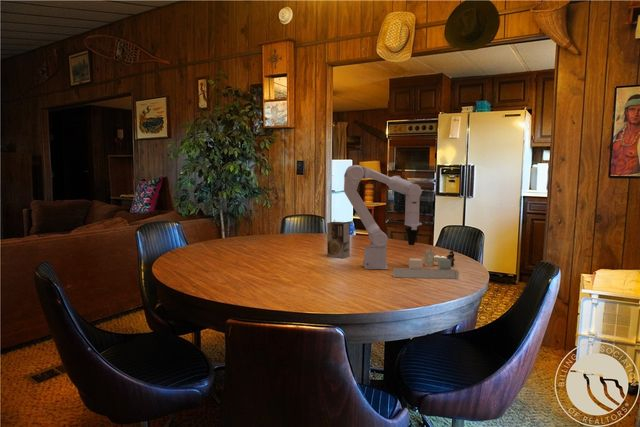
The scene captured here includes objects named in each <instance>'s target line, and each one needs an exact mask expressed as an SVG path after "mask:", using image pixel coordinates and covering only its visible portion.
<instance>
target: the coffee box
mask: <svg viewBox="0 0 640 427" xmlns="http://www.w3.org/2000/svg"><path fill="white" fill-rule="evenodd" d="M326 224H327V225H326V228H327V229H326V230H327V231H326V236H327V240H326V241H327V242H326V243H327V245H326V246H327V247H326V248H327V257H329V258H337V259H338V258H340V259H346V258H348V257H350V255H351V253H350V251H351V250H350V249H351V247H350V246H351V245H350V244H351V243H350V242H351V241H350V239H351V238H350V237H351V234H350V232H351V222H347V221H346V222H344V221H330V222H327V223H326Z"/></svg>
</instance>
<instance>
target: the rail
mask: <svg viewBox="0 0 640 427" xmlns="http://www.w3.org/2000/svg"><path fill="white" fill-rule="evenodd" d="M459 274H460V271H459V269H456V268H452V266H451V260H450V259H446V258H438V262H437V268H432V267H430V268H423V267H422V268H409V267H393V268H392V278H393V279H396V278H405V279H406V278H407V279H408V278H411V279H413V278H414V279H415V278H416V279H455V280H459V276H460V275H459Z"/></svg>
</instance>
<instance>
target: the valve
mask: <svg viewBox="0 0 640 427" xmlns="http://www.w3.org/2000/svg"><path fill="white" fill-rule="evenodd" d="M448 252H449V253H448V254H447V255H446V256H444V255H441V256H440V255H439V254H435V250H433V249H425V250H424V256H423V259H424V266H425V267H433V266H434V262H437V263H438V258H446V259H450V260H451V267H453V266H455V263H454V262H455V253H454V251H453V250H450V251H448Z"/></svg>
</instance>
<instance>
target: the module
mask: <svg viewBox="0 0 640 427" xmlns="http://www.w3.org/2000/svg"><path fill="white" fill-rule="evenodd" d="M423 262H424V261H423V258H422V257H408V268H423Z"/></svg>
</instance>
